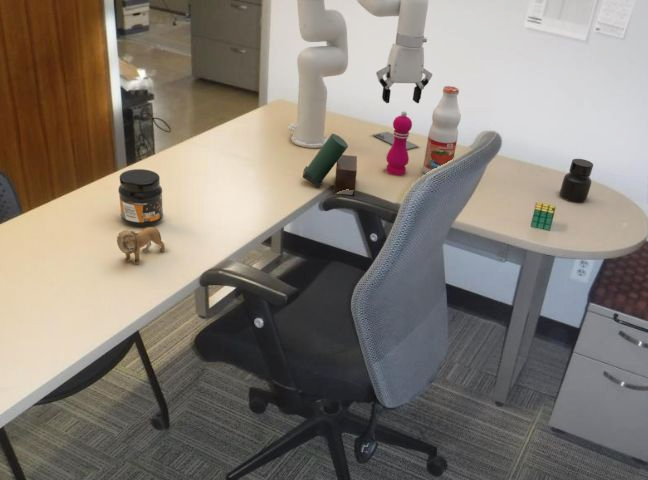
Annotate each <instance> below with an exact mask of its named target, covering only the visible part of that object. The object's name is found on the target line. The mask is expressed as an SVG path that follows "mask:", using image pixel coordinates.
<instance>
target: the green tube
mask: <svg viewBox="0 0 648 480" xmlns="http://www.w3.org/2000/svg"><path fill="white" fill-rule="evenodd" d="M327 139H328V140H327V141H326V143H325V144H324V145H323V147H320V148H319V151H318V152H317V154H316V155H315V157H313V158H312V160H311V162H310V163H309V164H308V165H306V166H305V167H304V169H303V172H302V178H303V179H304V180H306V181H307V182H308V183H310V184H311V185H313V186H315V187H316V188H318V189H320V188H321V186H322V185H323V181H324V180H325V178H326V177H327V176H328V175H329V173H330V172H331V170H332V169H333V168H334V166H335V165H336V164H337V161H338V159H339V158H340V157H341V155H344V153H345V152H346V150H347V149H348V148H349V144H348V143H347V142H346V141H345V140H344V139H343V138H342V137H341V136H339V135H337V134H335V133H331V134H330V136H329V137H328V138H327Z"/></svg>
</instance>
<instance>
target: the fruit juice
mask: <svg viewBox="0 0 648 480" xmlns="http://www.w3.org/2000/svg"><path fill="white" fill-rule="evenodd" d="M459 93H460V89H459V88H458V87H456V86H450V85H446V86H444V87H443V89H442V95H441V98H440V100H439V102H438V104H437V106H436V107H435V108H434V109H433V110H432V114H431V118H432V119H431V121H432V124H431V125H430V128H429V131H428V136H427V140H426V141H427V142H426V147H425V152H424V153H425V154H424V160H423V165H422V171H423V173H424V174H425V175H427V174H426V173H427V172H429V171H431V170H432V169H434V168H437V167H438V166H441V165H443V164H445V163H447V162H448V161H450V160H452V159H453V158H455V153H456V148H457V142H458V137H459V129H458V127H459V125H460V122H461V119H462V115H461V111H460V109H459V103H458V96H459ZM453 160H454V159H453Z"/></svg>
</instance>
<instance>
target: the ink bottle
mask: <svg viewBox="0 0 648 480" xmlns="http://www.w3.org/2000/svg"><path fill="white" fill-rule="evenodd" d="M593 168H594V163H593V162H591V161H590V160H587V159H584V158H573V159H572V161H571V163H570V166H569V172H568V173H565V175H564V176H563V180H562V184H561V186H560V190H559V197H561V198H562V199H563V200H566V201H570V202H573V203H585V201H587V199H588V195H589V193H590V189H591V185H592V179H591V175H592V172H593Z"/></svg>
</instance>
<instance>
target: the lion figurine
mask: <svg viewBox="0 0 648 480" xmlns="http://www.w3.org/2000/svg"><path fill="white" fill-rule="evenodd" d="M152 242H153V243H154V244H155V245H158V246H160V248H159V252H161V253H164V252H165V250H166V249H165V243H164V241H162V236H161V232H160V230H159V229H158V228H157V227H154V226H150V227H144V228H143V229H142V230H140V231H139V232H135V231H134V230H123V231H121V232H119V233H118V235H117V236H116V244H117V246H118V249H119V250H120V252H122V253H123V254H125V258H124V263H125V262H126V263H128V262H130V261H131V255H132V254H134V262H133V263H134V264H135V265H140V264H141V259H140V250H141V248H143V249H142V252H144V253H146V252H148V251H150V248H151V246H152ZM144 247H145V248H144Z"/></svg>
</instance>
